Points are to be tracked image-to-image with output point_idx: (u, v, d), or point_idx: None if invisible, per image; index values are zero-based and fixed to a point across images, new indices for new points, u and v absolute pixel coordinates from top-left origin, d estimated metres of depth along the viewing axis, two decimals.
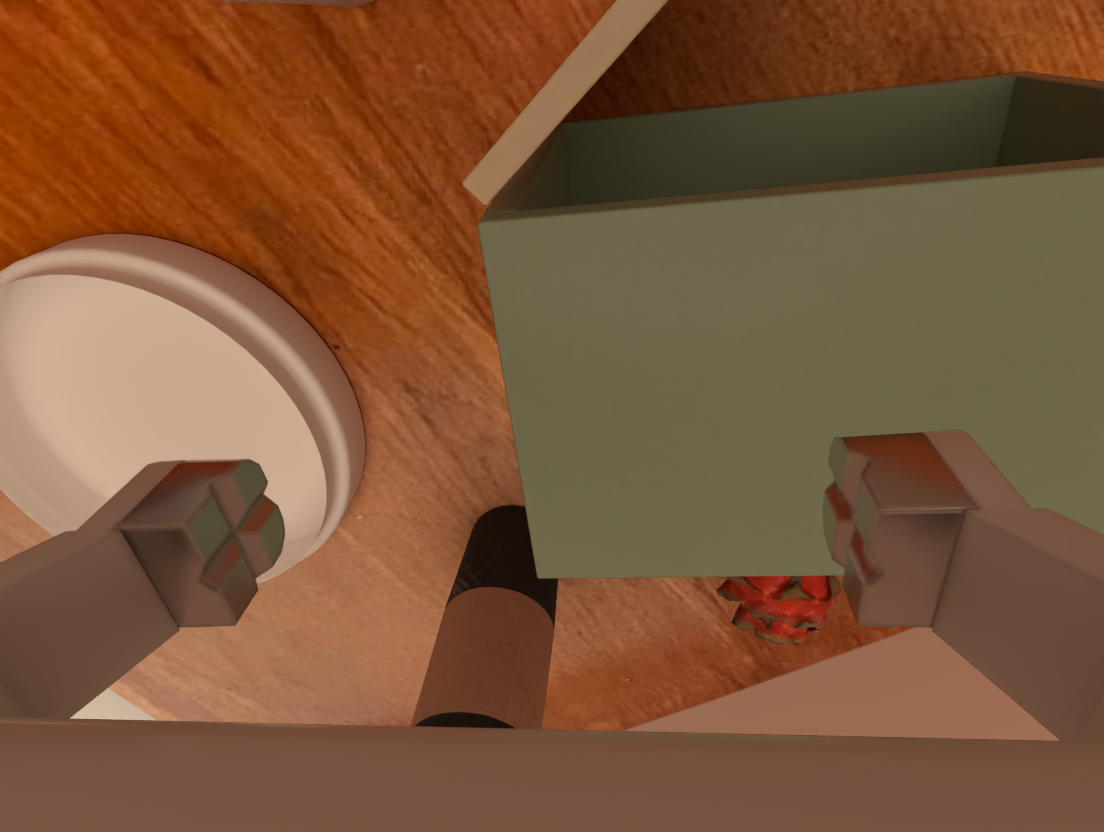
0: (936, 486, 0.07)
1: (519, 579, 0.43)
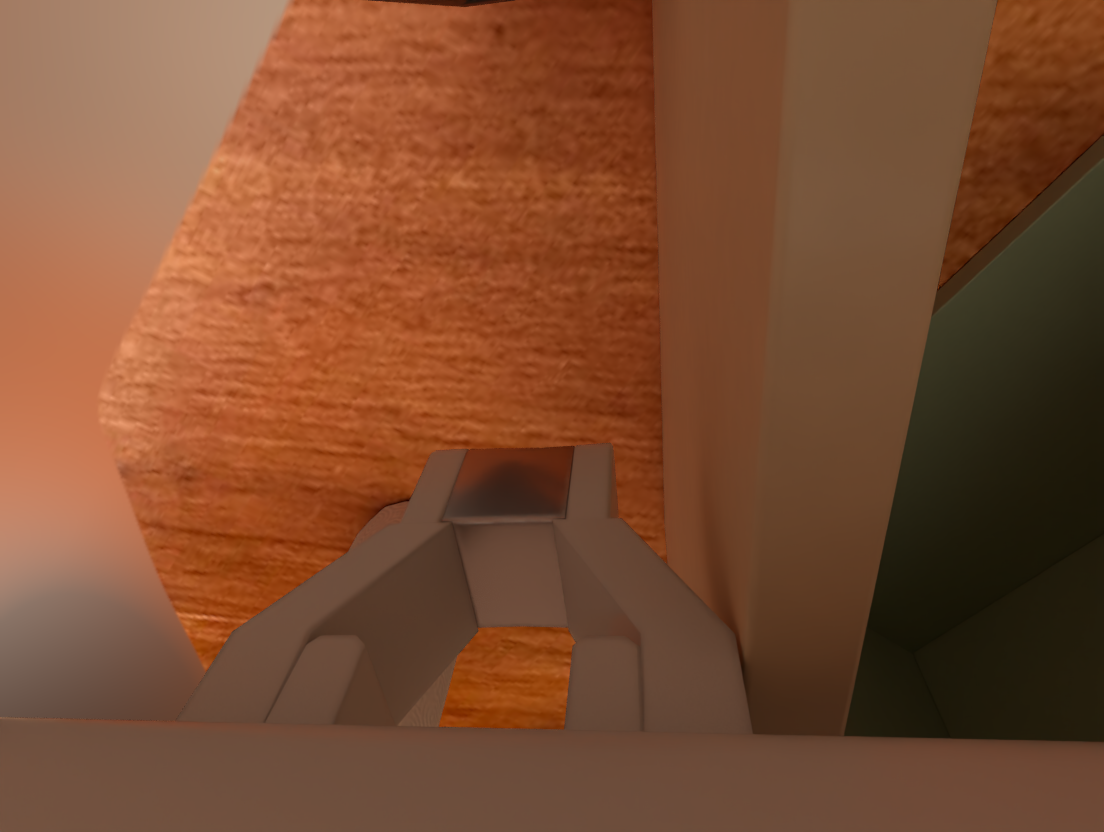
0: (546, 497, 0.08)
1: None
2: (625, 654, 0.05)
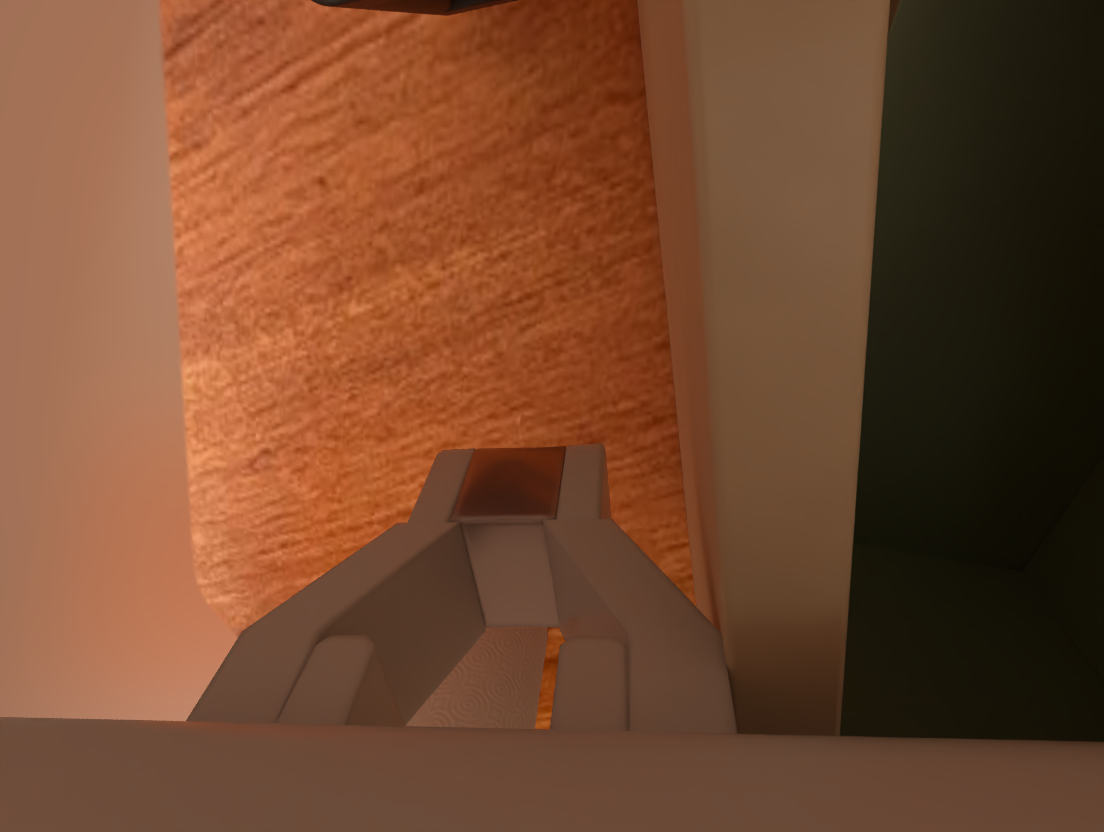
0: (536, 497, 0.08)
1: None
2: (611, 653, 0.05)
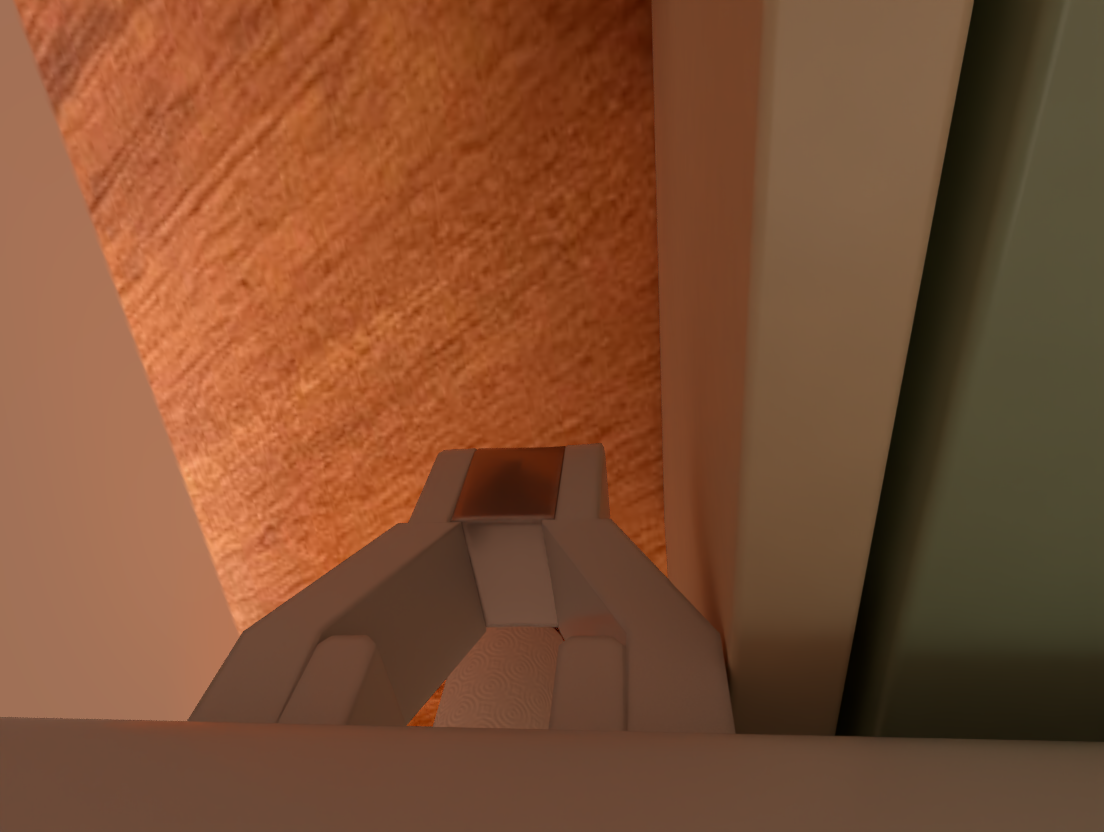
0: (535, 497, 0.08)
1: None
2: (609, 653, 0.05)
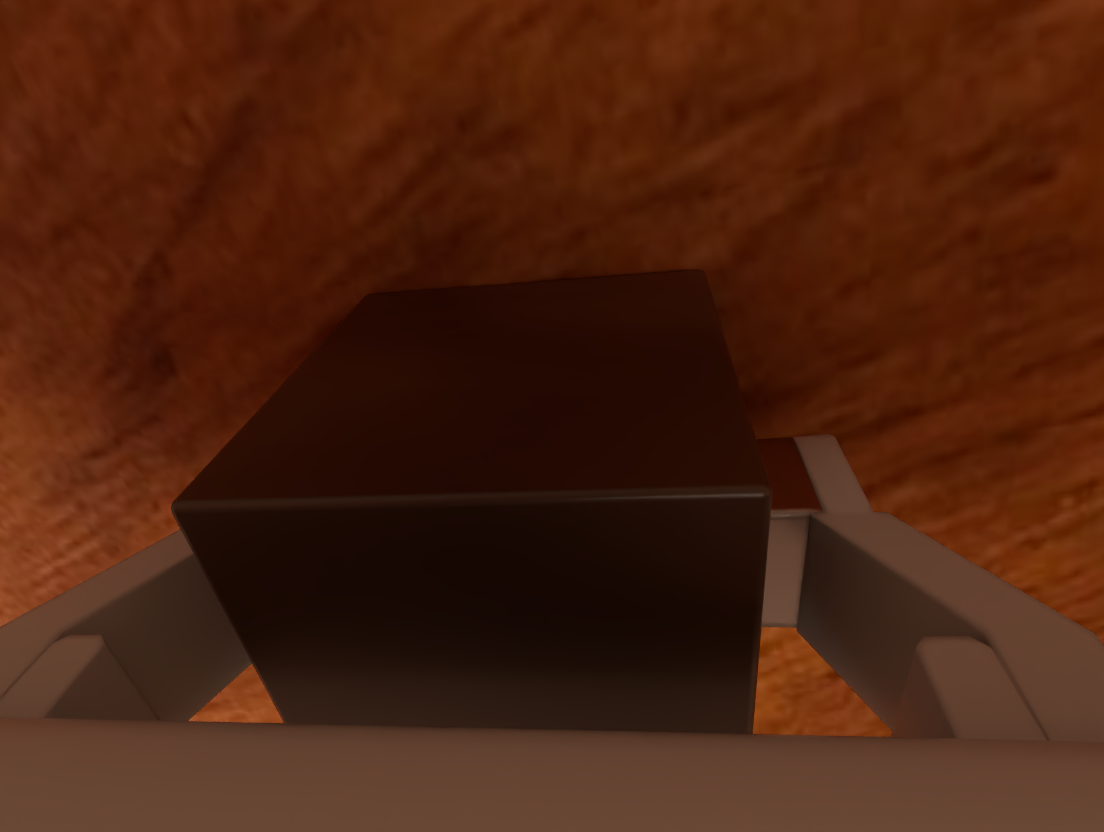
0: (790, 490, 0.07)
1: None
2: (980, 655, 0.05)
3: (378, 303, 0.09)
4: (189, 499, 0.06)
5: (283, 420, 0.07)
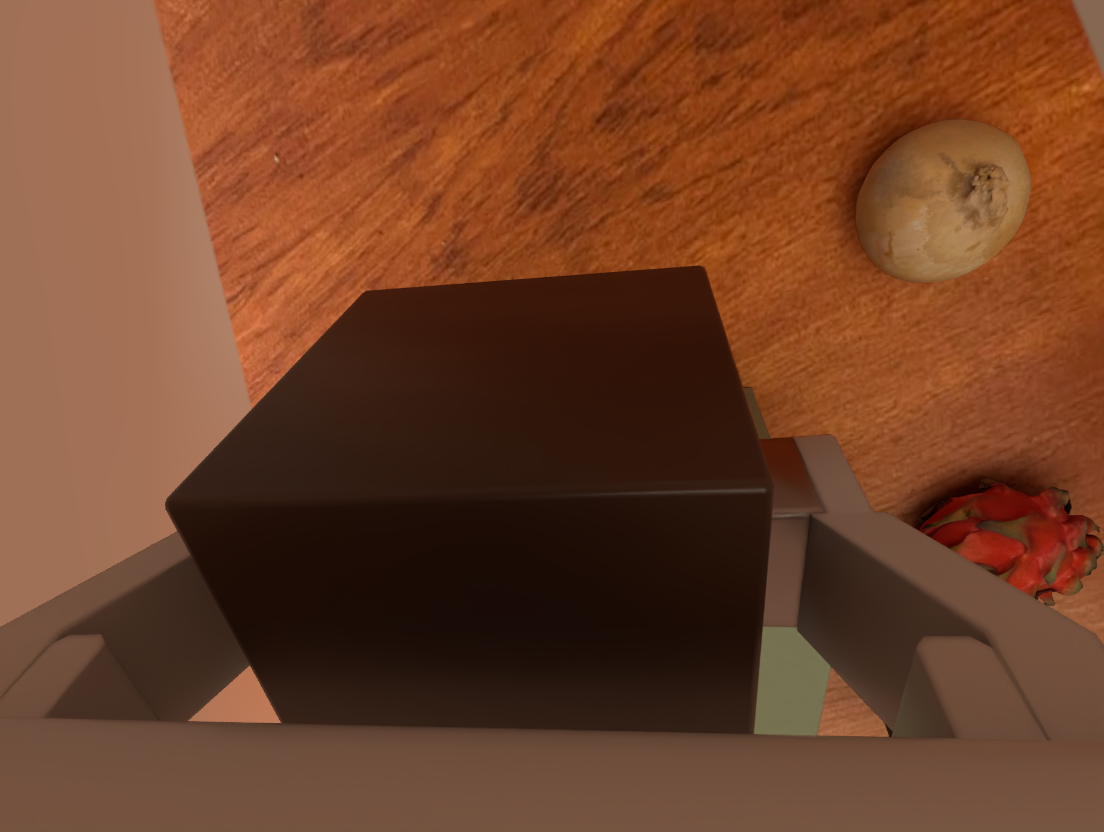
0: (790, 490, 0.07)
1: None
2: (981, 655, 0.05)
3: (376, 299, 0.09)
4: (182, 496, 0.05)
5: (279, 416, 0.06)
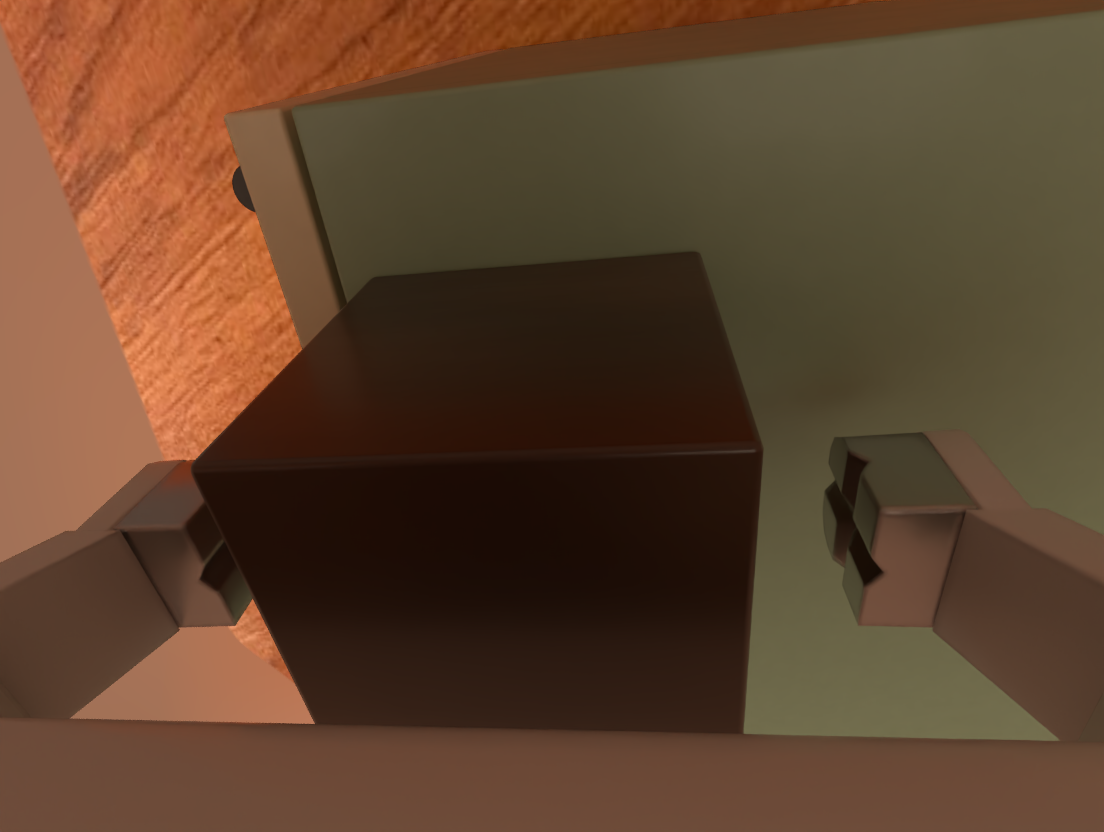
0: (936, 486, 0.07)
1: None
2: None
3: (383, 285, 0.09)
4: (207, 460, 0.06)
5: (295, 390, 0.07)
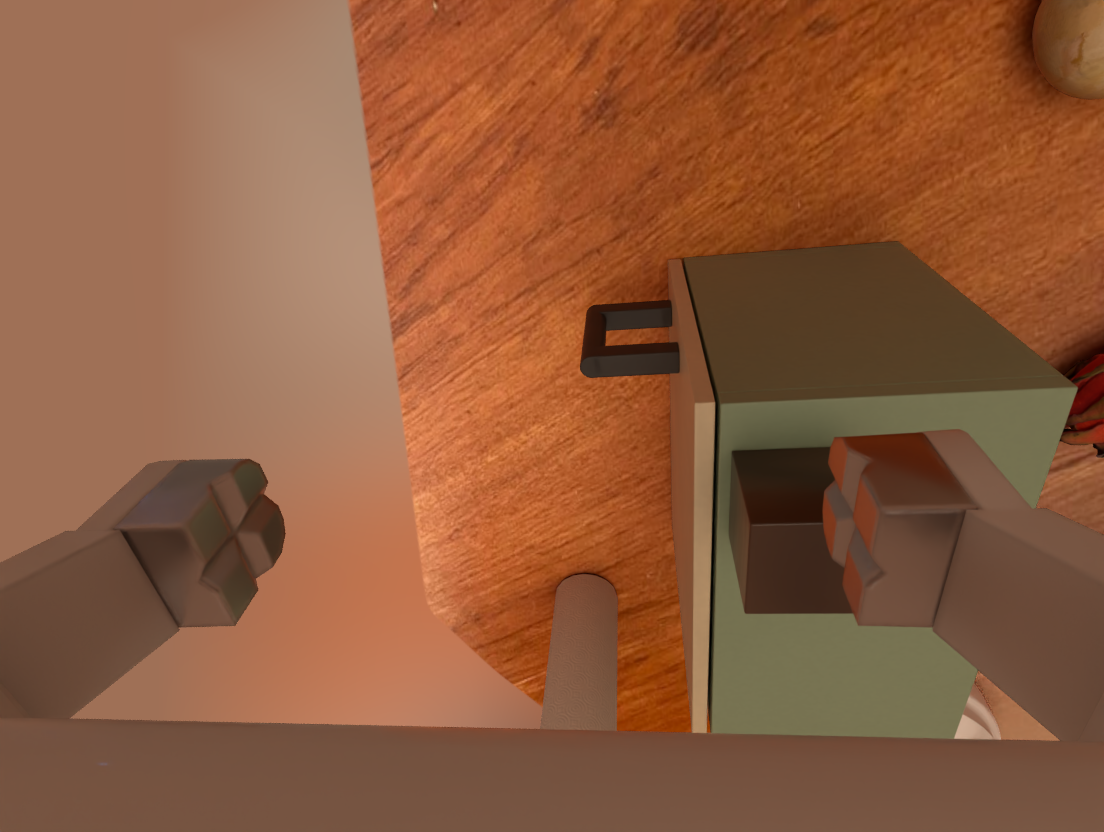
0: (936, 486, 0.07)
1: None
2: None
3: (742, 456, 0.28)
4: (754, 522, 0.25)
5: (756, 501, 0.26)
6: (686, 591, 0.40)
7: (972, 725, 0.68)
